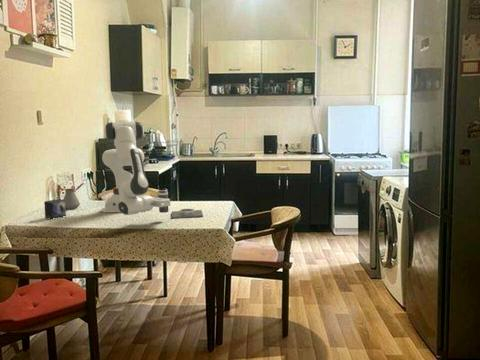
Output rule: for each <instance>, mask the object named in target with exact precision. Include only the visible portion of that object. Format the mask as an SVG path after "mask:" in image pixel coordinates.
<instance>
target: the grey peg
mask: <svg viewBox="0 0 480 360" xmlns="http://www.w3.org/2000/svg"><path fill="white" fill-rule="evenodd" d="M158 197H159V198H165V199H166V198H169V191H168V190H167V189H160V190H158ZM158 210H159V211H158V213H163V214H164V213H168V212H169V206H166V207H158Z"/></svg>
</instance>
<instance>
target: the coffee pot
mask: <svg viewBox="0 0 480 360" xmlns="http://www.w3.org/2000/svg"><path fill="white" fill-rule="evenodd" d="M84 185H86V183H84V182H82V183H81V184H80V185H78V186H77V187H76V189H75V188H65V189H64V191H65V195H64V197H63V199H62V200H65V208H66V210H75V208H76V209H78V207H80V205H81V203H80V202H81V201H79V199H78V197H77V195H76V191H77V190H79V189H80V188H81V187H82V186H84Z"/></svg>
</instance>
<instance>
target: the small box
mask: <svg viewBox="0 0 480 360" xmlns="http://www.w3.org/2000/svg"><path fill="white" fill-rule="evenodd" d="M43 202H44V219H45V218H50V219H49V220H51V219H52V220H54V219H53V218H57V219H59V218H58V217H61V218H64V217H63V216H66V217H67V211H66V210H67V209H66V208H65V200H63V199H61V198H56V199H51V200H46V201H43Z"/></svg>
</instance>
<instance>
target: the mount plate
mask: <svg viewBox="0 0 480 360" xmlns="http://www.w3.org/2000/svg"><path fill="white" fill-rule="evenodd" d="M203 217H204V215H203V211H202V209H197V210H195V209H194V208H181V209H179V210H175V211H174V210H173V211H171V220H172V219H173V218H174V219H191V218H203Z"/></svg>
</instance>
